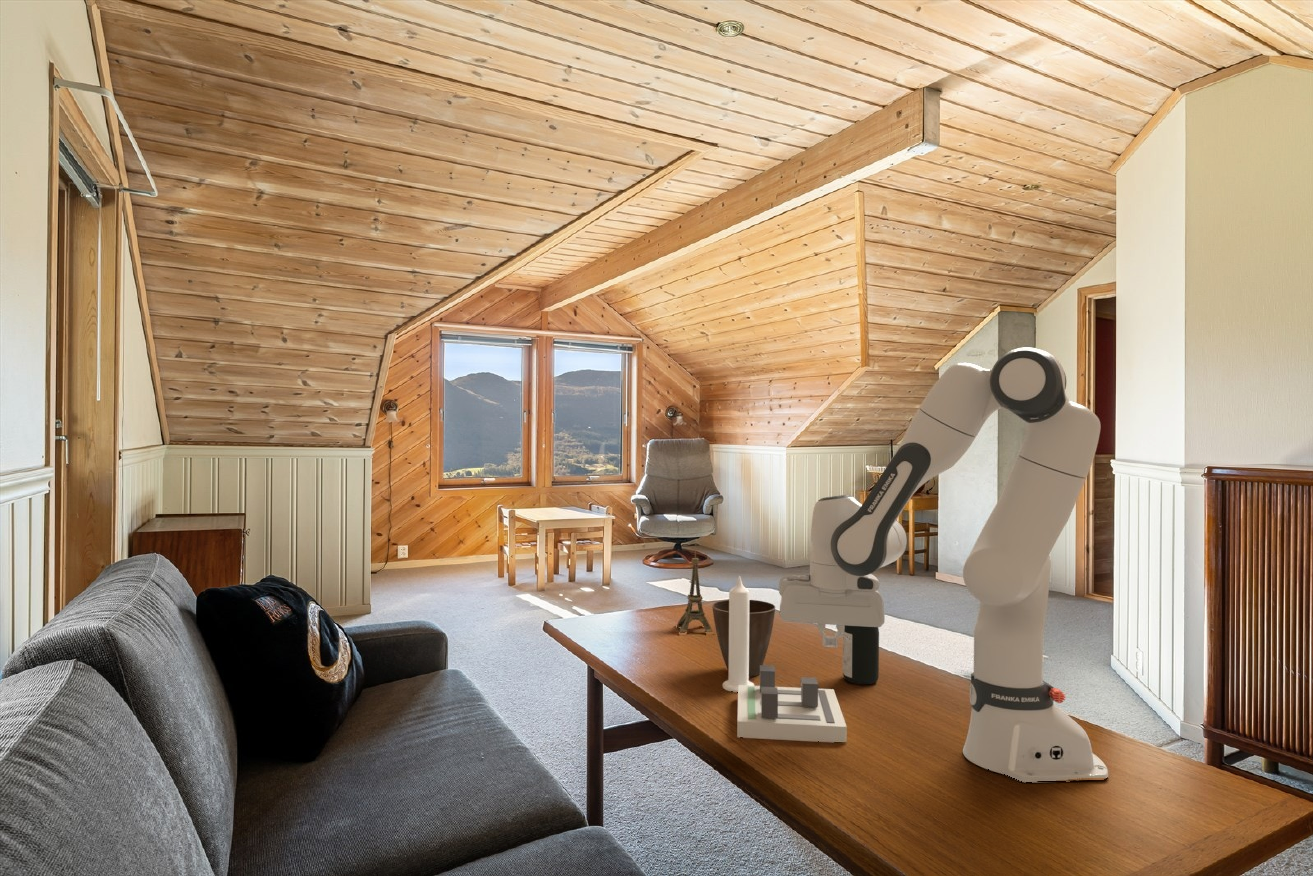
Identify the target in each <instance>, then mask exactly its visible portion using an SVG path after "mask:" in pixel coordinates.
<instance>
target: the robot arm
mask: <svg viewBox="0 0 1313 876" xmlns="http://www.w3.org/2000/svg"><path fill="white" fill-rule="evenodd" d="M1066 375H1067V374H1066V373H1065V370H1064V368H1063V366H1062V364H1061V362H1060V361H1059V360H1058V359H1057V358H1056V357H1055V356H1054V355H1053V354H1052V353H1049V352H1048V351H1045V350H1042V349H1040V348H1035V347H1018V348H1014V349H1011V350H1009V351H1007V352H1005V353H1004V354H1003V355H1001V356H1000V357H999V358H998V359H997V361H996V362H995V363H994V365H993V366H992V368H984V367H981V366H979V365H977V364H973V363H968V362H958V363H955V364H953V365H951V366H949V367H948V368H947V369H946V370H945V371H944V372H943V374H942V375H940V377H939V379H938V380H937V381H936V382H935V383H934V384H933V386H932V387H931V389H930V390H929V391H928V392H927V395H926V396H925V397H924V399H923V401H922V402H921V404H920V406H919V407H918V409H917V411H916V413H915V414H914V416H913V418H912V420H911V422H910V423H909V426H908V427H907V429H906V431H905V433H904V435H903V437H902V439H901V441H900V443H899V445H898V447H897V448H896V451H895V452H894V454H893V456H892V458H891V460H890V462H889V463H888V465H886V467H885V469H884V470H883V472H882V473H881V475H880V477H879V478H878V479H877V481H876V483H875V484H874V486H873V488H872V489H871V491H870V492H869V493H868V495H867V497H866V498H865V500H864V501H863V502H862V503H861V502H860V501H858V499H856V497H854V496H852V495H850V494H843V495H842V494H841V495H833V496H827V497H822V498H820V499H818V500H817V501H816V502H815V504H814V507H813V512H812V519H811V526H810V527H811V528H810V541H811V545H812V549H811V550H812V551H811V555H810V560H809V574H807V575H805V574H804V575H803V574H799V575H795V574H787V575H785V576H784V577H782V578H780V580H779V582H778V593H779V595H780V597H781V598H780V604H779V618H780V619H781V621H783V622H784V623H795V624H814V625H816V627H817V630H818V631H819V634H820V635H821V637H822V640H821V643H822V647H826V648H827V647H828V648H838V647H839V639H840V638H841V636H843V632H844V629H845V625H847V626H865V627H878V628H881V627H882V626H883V625H884V624H885V620H886V619H885V618H886V617H885V614H886V613H885V605H884V599H883V596H882V594H881V593H880V592H879V591H878V590H879V589H880V580H879V579H878V578H877V577H876V576H875V575H873V573H874V572H876V571H877V570H879V569H881V568H884V567H886V566H888V565H890V564H892V563H894V562H896V561H897V560H898V559H900V558H901V557H902V556H903V555H904V553H905V551H906V550H907V548H908V547H907V546H908V537H907V536H908V535H907V533H906V530H905V527H904V526H903V525H902V524H901V522H899V521H898V518H899V517H900V515H901V513H902V512H903V511H904V509H905V507H906V506H907V504H908V503H909V501H910V500H911V498H912V497H913V495H914V494H915V493H916V492H917V491H918V490H919V488H921V487H922V486H923V485H924V484H926V483H928V481H930V480H931V479H932V478H934V477H937V476H938V475H939V474H942V473H944V472H946V471H947V470H949V469H951V468H953V467H954V466H955V465H956V464H957V463H958V462H959V461H960V459H962V457H963V456H964V455H965V453H966V452H967V451H968V450H969V449H970V447H971V446H972V444H973V443H974V441H975V439H976V437H977V436H978V434H979V432H980V431H981V429H982V428H983V426H984V424H985V423H986V421H987V420H988V418H989V417H990V416H991V415H992V414H993V413H995V412H996V411H998V410H1000V409H1006V410H1008V411H1009V412H1011V413H1012V414H1014V415H1016V416H1017V417H1018V418H1020V419H1021V420H1023V421H1024V422H1026V432H1025V435H1024V439H1023V441H1022V444H1021V446H1020V448H1019V451H1018V452H1017V453H1018V454H1017V456H1016V458H1015V461H1014V463H1013V465H1012V467H1011V470H1010V473H1009V474H1008V476H1007V477H1008V478H1007V480H1006V482H1005V486H1004V487H1003V490H1002V492H1001V494H1000V497H999V499H997V503H996V504H995V505H994V507H993V509H992V511H991V513H990V514H989V516H988V518H987V520H986V522H985V524H984V526H983V527H982V529H981V531H980V533H979V535H978V537H977V539H976V541H975V543H974V545H973V547H972V550H971V551H970V553H969V554H968V557H967V558H966V561H965V563H964V565H963V567H962V568H963V569H962V578H963V581H964V585H965V587H966V589H967V590H968V592H969V594H970V595H971V596H973V597H974V598H975V599H976V600H978V601H979V607H978V613H977V618H976V622H975V626H974V629H973V672H972V673H971V675H970V682H969V683H970V684H969V702H970V707H971V713H970V721H969V726H968V731H967V736H966V739H965V743H964V746H963V749H962V754H963V756H964V757H965V758H966V759H967V760H968V761H969V762H971V763H973V764H974V765H977V766H979V767H981V768H982V769H985V770H988V769H989V771H990V772H995V773H998V774H1002V775H1004V774H1005V776H1007V775H1008V776H1007V777H1009V776H1010V777H1009V778H1011V777H1012V779H1013V778H1015V779H1014V780H1016V779H1017V780H1016V781H1018V780H1019V781H1018V782H1021V781H1022V783H1026V782H1032V783H1038V782H1037V781H1056V780H1068V779H1077V778H1078V779H1079V778H1080V779H1081V778H1107V777H1108V778H1109V770H1108V767H1107V765H1106V764H1105V763H1104V762H1103V761H1102V759H1100V758H1099V757H1098V755H1096V754H1094V753H1093V749H1092V744H1091V741H1090V738H1089V736H1088V734H1087V731H1086V730H1084V728H1083V727H1082V726H1081V725H1080V724H1078V722H1076V721H1075V720H1074V718H1072V717H1070V716H1069V714H1067V713H1066V712H1065V711H1063V710H1062V709H1061V708H1059V707H1058V706H1057V705H1056V704H1055V703H1054V702H1056V703H1058V704H1062V703H1064V701H1066V694H1065V693H1064V691H1061V689H1059V688H1057V687H1054V686H1053V685H1052V684H1049V683H1048V682H1046V681H1045V680H1043V677H1044V676H1043V674H1044V672H1043V670H1044V668H1043V666H1044V665H1043V664H1044V636H1045V635H1044V633H1045V625H1046V619H1047V618H1046V617H1047V610H1048V601H1049V592H1050V591H1049V590H1050V578H1051V567H1052V563H1051V562H1052V561H1051V557H1050V554H1051V552H1052V550H1053V548H1054V546H1055V545H1056V543H1057V541H1058V538H1059V537H1060V535H1061V533H1062V531H1063V529H1064V528H1065V526H1066V524H1067V523H1068V521H1069V520H1070V517H1071V515H1072V512H1073V509H1074V508H1075V505H1076V503H1077V500H1078V498H1079V496H1080V493H1081V492H1082V490H1083V486H1084V484H1085V482H1086V480H1087V477H1088V475H1089V473H1090V470H1091V468H1092V464H1093V461H1094V459H1095V456H1096V452H1097V448H1098V444H1099V439H1100V434H1101V428H1102V427H1101V425H1102V424H1101V421H1100V418H1099V417H1098V415H1096V414H1095V412H1093V411H1092V410H1091V409H1090V408H1088V407H1087V406H1085V405H1082V404H1079V403H1077V402H1075V401H1074V402H1073V401H1072V400H1071V399H1069V398H1068V396H1067V395H1066V388H1067V376H1066ZM826 625H831V626H834V625H835V627H836V628H835V629H837V630H836V632H835V634H834V635H826V632H825V631H824V630H826Z"/></svg>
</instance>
